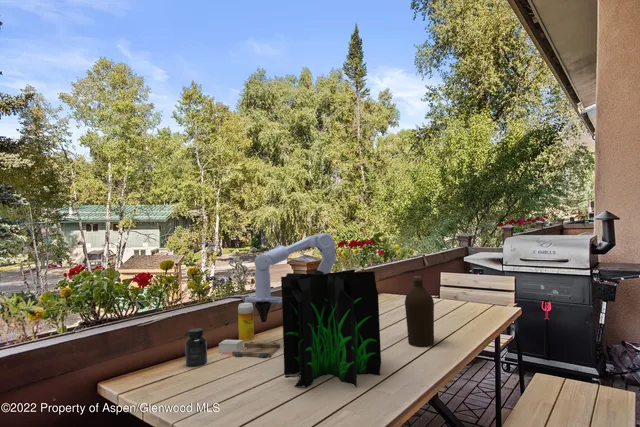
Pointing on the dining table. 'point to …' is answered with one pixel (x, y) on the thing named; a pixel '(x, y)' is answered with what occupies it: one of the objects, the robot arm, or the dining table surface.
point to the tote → (230, 346)
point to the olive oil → (419, 315)
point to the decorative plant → (330, 325)
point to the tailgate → (228, 353)
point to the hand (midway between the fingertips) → (263, 321)
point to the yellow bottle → (246, 321)
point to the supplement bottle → (196, 348)
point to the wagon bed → (257, 350)
